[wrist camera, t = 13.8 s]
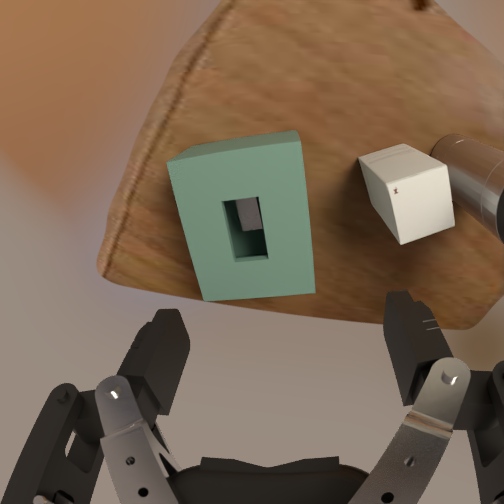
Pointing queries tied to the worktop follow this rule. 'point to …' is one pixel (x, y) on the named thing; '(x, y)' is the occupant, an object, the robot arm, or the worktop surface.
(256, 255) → the money box
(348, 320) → the worktop surface
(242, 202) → the block
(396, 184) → the supplement box
